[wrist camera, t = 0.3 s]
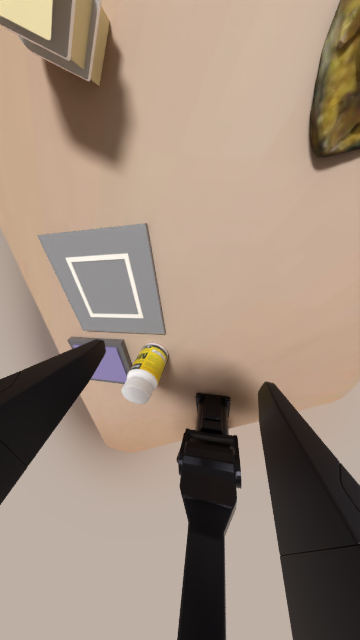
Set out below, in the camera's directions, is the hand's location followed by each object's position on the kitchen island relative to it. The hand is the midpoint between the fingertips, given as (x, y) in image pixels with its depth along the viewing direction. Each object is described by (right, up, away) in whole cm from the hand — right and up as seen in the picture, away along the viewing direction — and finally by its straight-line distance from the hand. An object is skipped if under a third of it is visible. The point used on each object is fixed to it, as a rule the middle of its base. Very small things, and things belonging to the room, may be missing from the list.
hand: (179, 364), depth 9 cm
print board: (-10, +7, +15) cm, 19 cm away
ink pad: (-15, -6, +24) cm, 29 cm away
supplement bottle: (-4, -3, +20) cm, 21 cm away
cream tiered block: (-8, +25, +4) cm, 27 cm away
